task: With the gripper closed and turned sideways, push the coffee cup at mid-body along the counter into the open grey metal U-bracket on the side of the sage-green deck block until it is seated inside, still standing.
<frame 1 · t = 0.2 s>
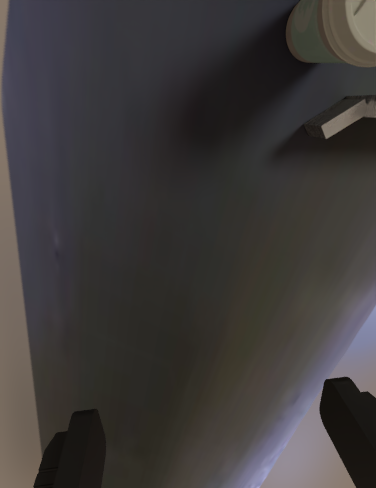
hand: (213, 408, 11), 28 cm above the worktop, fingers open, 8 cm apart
coffee cup: (312, 30, 31), on the worktop
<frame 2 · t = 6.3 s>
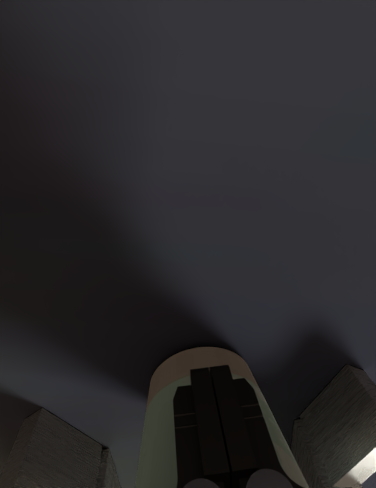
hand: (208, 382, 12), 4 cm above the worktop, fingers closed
coffee cup: (200, 380, 17), on the worktop, touching gripper
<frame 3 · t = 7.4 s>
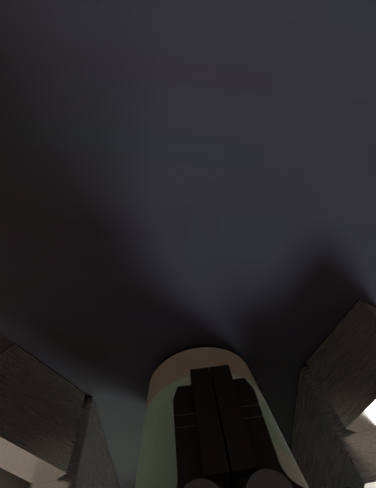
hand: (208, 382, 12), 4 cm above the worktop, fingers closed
coffee cup: (199, 380, 17), on the worktop, touching gripper
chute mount: (204, 456, 20), on the worktop
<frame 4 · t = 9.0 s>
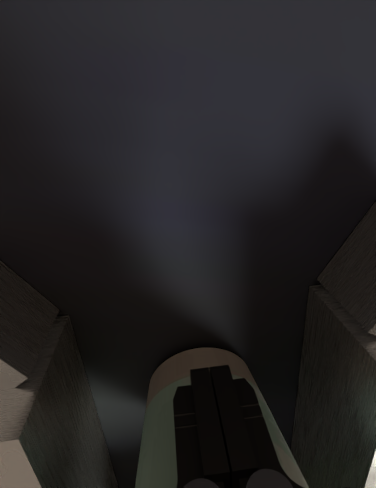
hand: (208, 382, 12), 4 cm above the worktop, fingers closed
coffee cup: (199, 381, 17), on the worktop, touching gripper
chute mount: (199, 398, 18), on the worktop
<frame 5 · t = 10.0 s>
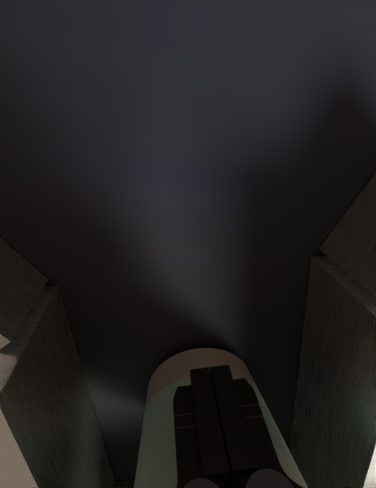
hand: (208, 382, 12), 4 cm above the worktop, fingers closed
coffee cup: (198, 381, 17), on the worktop, touching gripper
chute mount: (196, 378, 17), on the worktop
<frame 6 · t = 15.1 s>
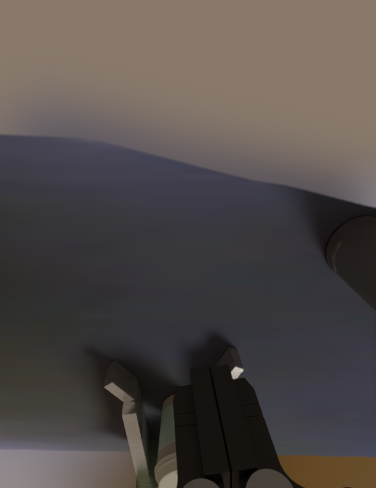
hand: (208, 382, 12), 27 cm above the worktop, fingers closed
coffee cup: (179, 403, 52), on the worktop
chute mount: (178, 402, 52), on the worktop
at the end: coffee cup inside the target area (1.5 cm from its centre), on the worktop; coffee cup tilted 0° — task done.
